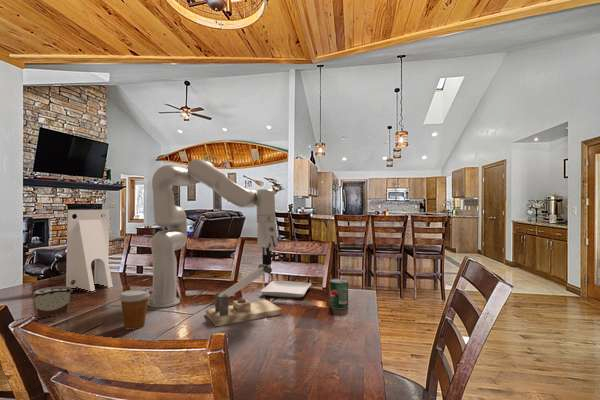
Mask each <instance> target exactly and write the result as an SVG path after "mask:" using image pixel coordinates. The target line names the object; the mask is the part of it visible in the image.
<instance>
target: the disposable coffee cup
mask: <svg viewBox="0 0 600 400" xmlns="http://www.w3.org/2000/svg"><path fill="white" fill-rule="evenodd" d="M150 295H151V293H150V292H149V290H148V289H145V288H144V289H143V288H138V289H135V288H134V289H129V290H124V291H123V292H121V293H120V296H119V299H120V303H121V311H122V319H123V326H124V327H125V328H129V329H130V328H131V329H133V328H138V329H140V328H139V327H141V328H143V327H145V323H146V316H147V309H148V304H149V301H148V298H149V296H150ZM142 326H143V327H142ZM125 328H124V329H125ZM133 330H134V329H133Z"/></svg>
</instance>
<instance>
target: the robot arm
mask: <svg viewBox="0 0 600 400" xmlns="http://www.w3.org/2000/svg"><path fill="white" fill-rule="evenodd" d="M151 179H152V180H151V188H152V197H153V198H152V199H153V201H152V204H153V205H152V206H153V207H152V208H153V221H154V222H153V223H154V224H155V225H156V226H157V227H160V228H167V230H160V231H158V232H155V234H154V235H153V236H152V237H151V240H150V247H151V248H150V249H151V254H152V292H151V293H150V296H149V298H148V304H147V306H149V307H150V308H157V309H158V308H159V309H161V308H169V307H172V306H177V305H178V304H180V303H181V299H180V298H179V297H177V276H178V275H177V272H178V269H177V267H178V266H177V265H178V261H177V257H176V253H175V251H179V250H181V249H182V248H184V247H185V246H186V244H187V241H188V221H187V212H186V211H185V210H184V208H182V207H181V206H178V205H175V193H174V190H173V189H172V186H177V187H178V186H179V187H188V186H194V185H196V184H199V183H201V184H202V185H205V186H206V187H208V188H209V189H212V190H213V191H214V192H215V193H216V194H218V196H220V197H221V198H223V199H224V200H226V201H228V202H229V203H232V205H235V206H237V207H239V208H254V207H256V224H257V231H256V232H257V233H256V234H257V236H256V239H257V241H256V242H257V245H258V246H259V249H261V255H262V258H261V259H262V265H272V255H273V251H274V250H275V249H274V248H276V247H277V246H278V233H277V225H276V202H275V201H276V200H275V199H276V197H275V190H274V189H272V188H262V189H260V188H259V189H257V190H256V189H249V188H244V187H242V186H240V185H239V184H237V183H235V182H234V181H232V180H231V179H230V178H229V177H228V175H227V173H226V172H224V171H222V170H221V169H218V168H217V167H215V165H214V164H213V163H212V162H210V161H208V160H204V159H200V158H193V159H192V160H190V161H189V163H188V164H187V166H186V167H183V166H178V165H173V164H167V165H162V166H161V167H158V169H157V170H156V171H155V172H154V173H153V176H152V178H151Z"/></svg>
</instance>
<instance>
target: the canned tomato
mask: <svg viewBox="0 0 600 400" xmlns="http://www.w3.org/2000/svg"><path fill="white" fill-rule="evenodd" d="M329 307H330V308H332V309H335V310H345V309H348V308H349V280H348V279H346V278H331V279H329Z"/></svg>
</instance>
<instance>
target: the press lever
mask: <svg viewBox="0 0 600 400" xmlns="http://www.w3.org/2000/svg"><path fill="white" fill-rule="evenodd" d="M272 271H273V269H272V267H271V264H269V265H264V264H263V263H261V264H258V268H257V269H255V270H254V271H252V272H251V273H250V274H248V275H246V276H245V277H244V278H241V279H240V280H239V281H237V282H236V283H234V284H233V285H231V286H230V287H228V288H226V289H225V290H223V291H222V293H220V294H219V295H217V296H218V298H219V300H220V296H227V295H228V298H230V297H231V296H233V295H234V294H236V293H238V292H239V291H240V290H242V289H243V288H245V287H247V286H248V285H249V284H251V283H253V282H254V281H256V280H257V279H259V278H260V277H261V276H264V274H271V273H272Z"/></svg>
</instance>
